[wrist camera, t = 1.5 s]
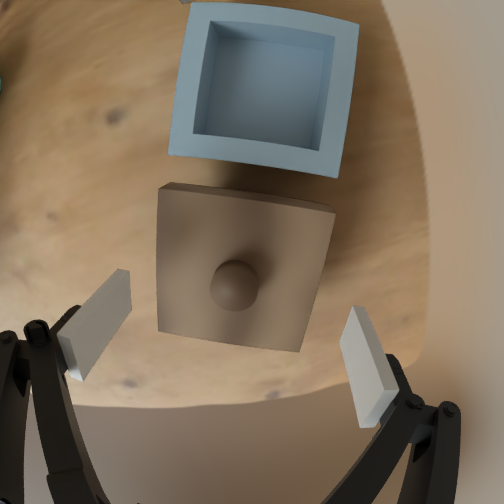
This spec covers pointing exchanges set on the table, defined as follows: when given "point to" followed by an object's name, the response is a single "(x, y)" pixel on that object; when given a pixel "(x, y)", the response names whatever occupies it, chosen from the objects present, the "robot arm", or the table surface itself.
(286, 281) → the lid
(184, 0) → the white stacked pedestal
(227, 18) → the dish
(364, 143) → the table surface
